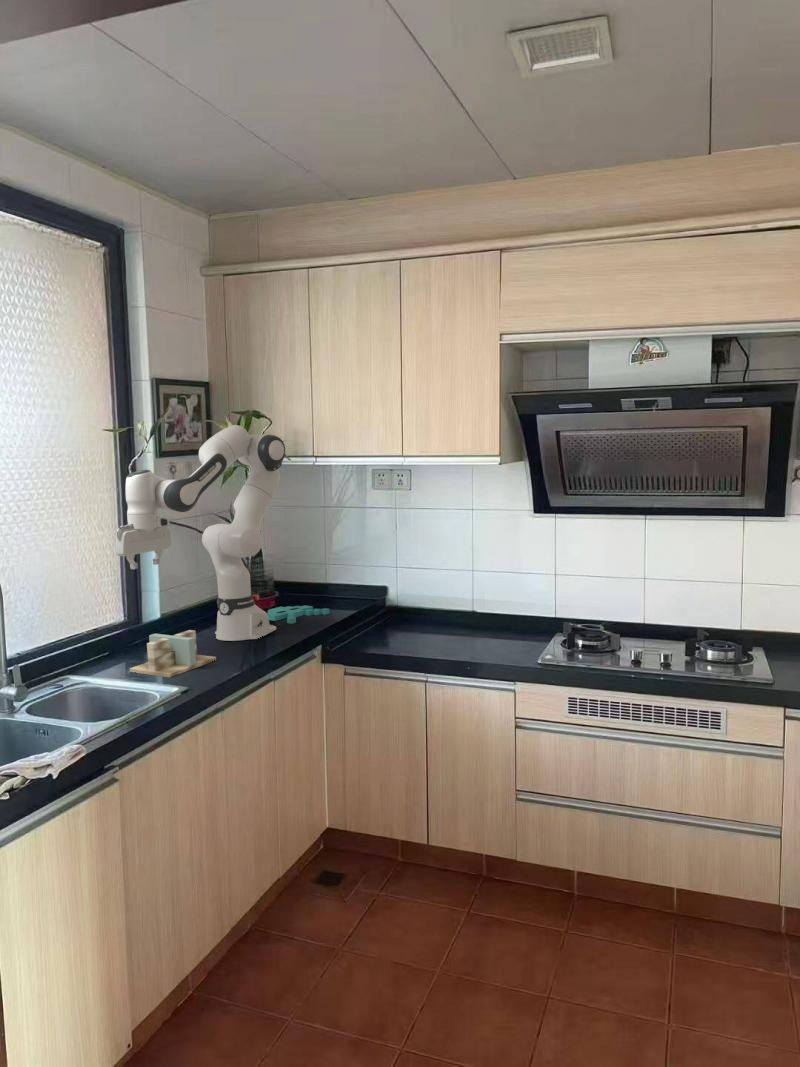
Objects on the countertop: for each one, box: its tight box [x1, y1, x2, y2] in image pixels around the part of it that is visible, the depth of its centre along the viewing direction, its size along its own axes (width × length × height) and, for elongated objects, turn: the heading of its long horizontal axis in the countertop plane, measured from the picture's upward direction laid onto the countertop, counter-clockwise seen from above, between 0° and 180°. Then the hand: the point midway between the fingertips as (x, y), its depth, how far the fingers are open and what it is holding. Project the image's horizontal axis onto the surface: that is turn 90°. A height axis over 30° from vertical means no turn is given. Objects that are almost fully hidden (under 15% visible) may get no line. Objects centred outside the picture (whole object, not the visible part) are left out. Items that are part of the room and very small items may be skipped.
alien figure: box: [266, 605, 330, 624], centre depth 322 cm, size 20×2×20 cm
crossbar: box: [148, 633, 196, 666], centre depth 255 cm, size 16×2×8 cm, turn 61°
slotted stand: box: [129, 629, 217, 678], centre depth 255 cm, size 20×16×9 cm
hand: (145, 566), depth 263 cm, fingers open, 8 cm apart
